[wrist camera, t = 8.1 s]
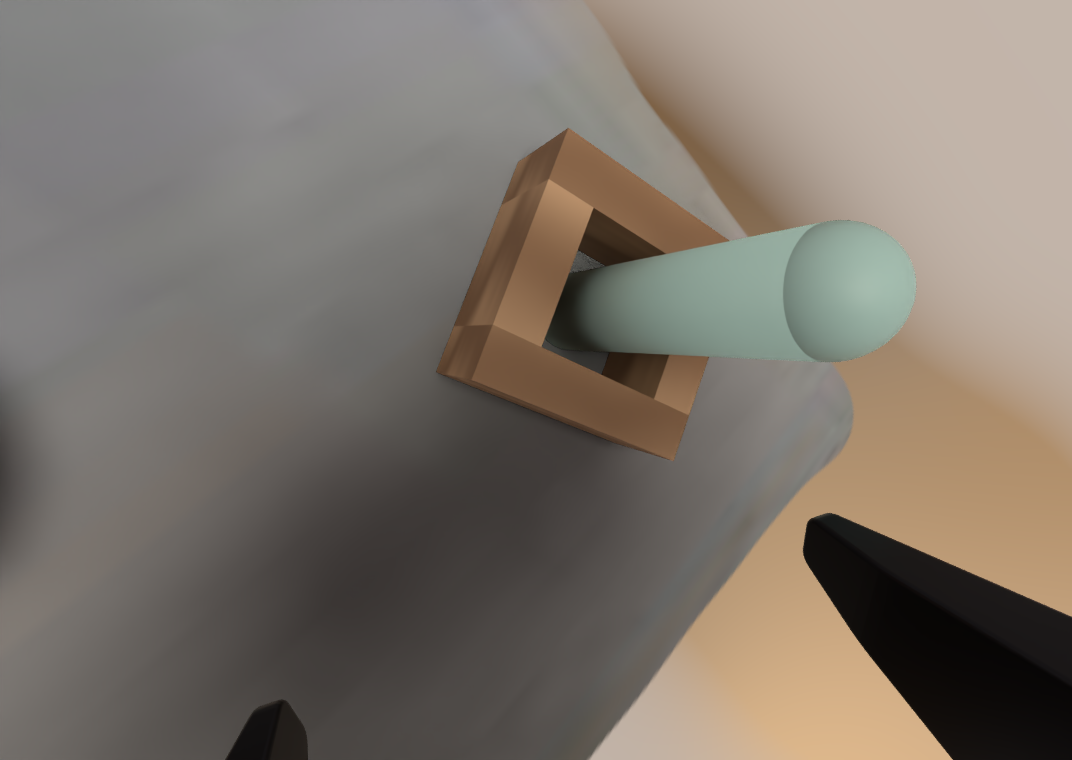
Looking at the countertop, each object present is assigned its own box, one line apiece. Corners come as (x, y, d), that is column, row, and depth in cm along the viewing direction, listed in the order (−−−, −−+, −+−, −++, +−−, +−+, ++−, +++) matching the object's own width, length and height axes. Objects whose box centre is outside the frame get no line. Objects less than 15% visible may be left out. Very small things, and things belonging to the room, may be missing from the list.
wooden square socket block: (614, 442, 25) (673, 461, 21) (436, 372, 21) (471, 379, 17) (677, 263, 26) (744, 251, 22) (518, 162, 22) (568, 127, 18)
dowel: (572, 364, 23) (903, 396, 11) (521, 315, 22) (832, 291, 10) (613, 309, 24) (965, 283, 12) (566, 258, 23) (906, 171, 11)
